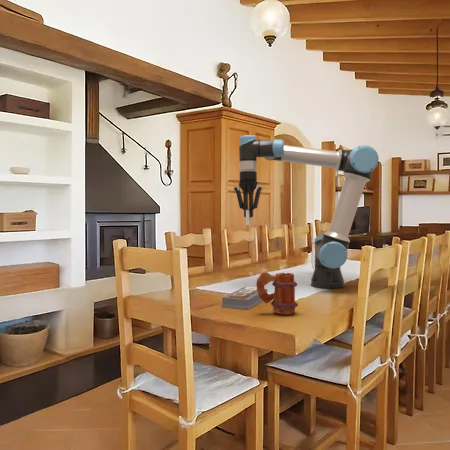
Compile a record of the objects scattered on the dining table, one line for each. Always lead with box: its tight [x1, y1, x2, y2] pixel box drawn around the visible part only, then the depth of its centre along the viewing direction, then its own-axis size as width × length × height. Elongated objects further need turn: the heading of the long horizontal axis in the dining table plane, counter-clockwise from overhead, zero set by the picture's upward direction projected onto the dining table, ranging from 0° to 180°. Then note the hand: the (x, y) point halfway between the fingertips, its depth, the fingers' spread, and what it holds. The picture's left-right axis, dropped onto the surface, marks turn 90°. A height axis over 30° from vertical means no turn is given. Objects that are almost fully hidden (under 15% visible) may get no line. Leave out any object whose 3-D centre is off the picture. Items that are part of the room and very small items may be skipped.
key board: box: [221, 286, 268, 310], centre depth 181 cm, size 11×22×4 cm, turn 156°
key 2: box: [238, 290, 254, 295], centre depth 181 cm, size 5×5×3 cm
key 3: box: [231, 293, 248, 299], centre depth 175 cm, size 5×5×3 cm
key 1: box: [244, 286, 258, 292], centre depth 187 cm, size 5×5×3 cm
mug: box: [255, 271, 299, 316], centre depth 162 cm, size 15×8×15 cm, turn 92°
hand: (248, 224), depth 202 cm, fingers closed
